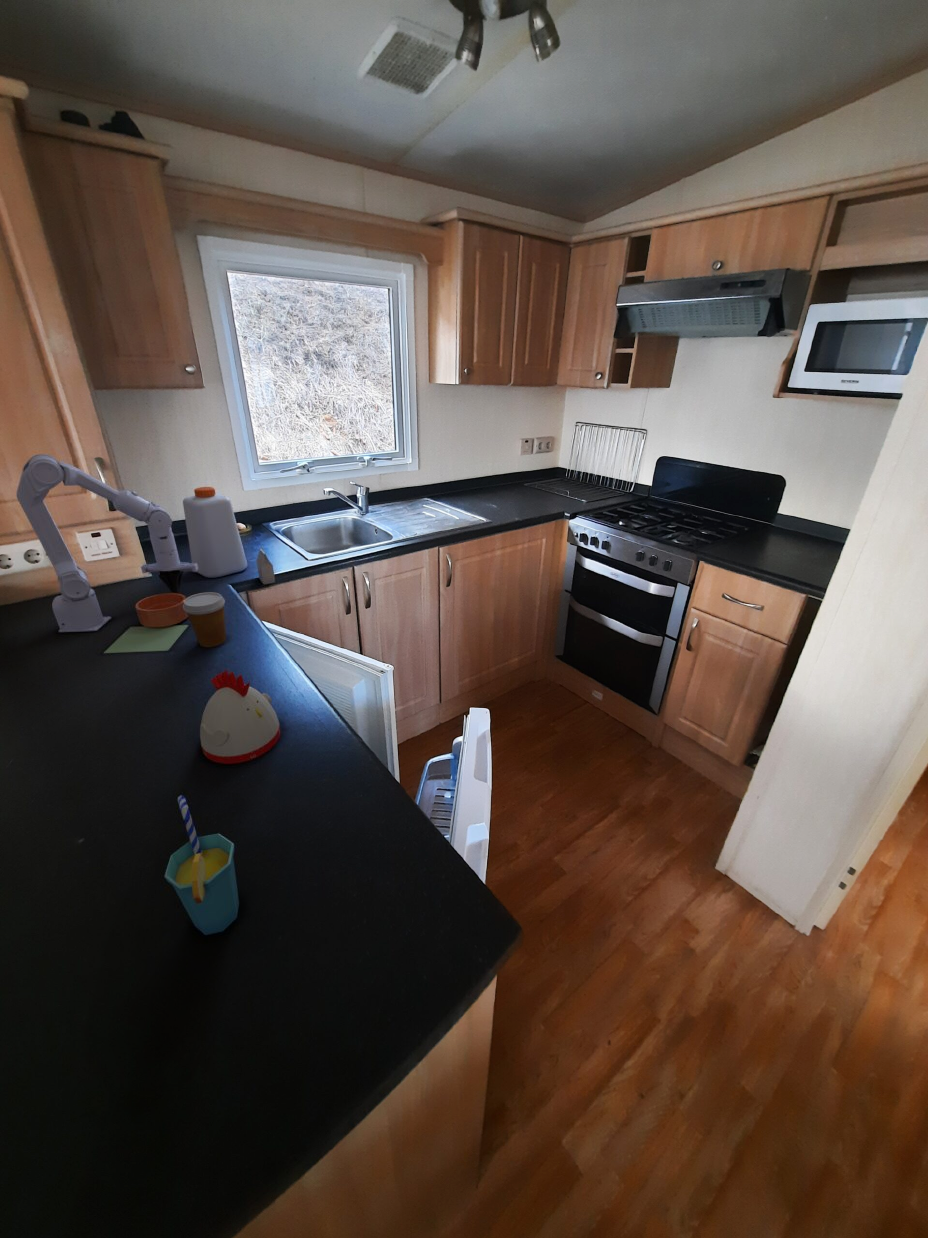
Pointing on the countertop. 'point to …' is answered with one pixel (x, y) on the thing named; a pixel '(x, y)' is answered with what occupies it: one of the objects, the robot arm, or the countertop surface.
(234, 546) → the plastic bottle
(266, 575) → the beige gable carton
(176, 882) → the cup
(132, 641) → the mat
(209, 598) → the disposable coffee cup
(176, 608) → the bowl
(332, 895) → the countertop surface
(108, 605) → the countertop surface
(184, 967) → the countertop surface
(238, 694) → the kitchen timer
